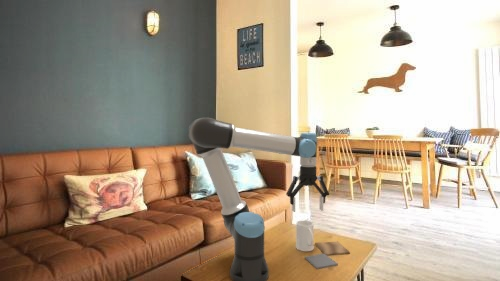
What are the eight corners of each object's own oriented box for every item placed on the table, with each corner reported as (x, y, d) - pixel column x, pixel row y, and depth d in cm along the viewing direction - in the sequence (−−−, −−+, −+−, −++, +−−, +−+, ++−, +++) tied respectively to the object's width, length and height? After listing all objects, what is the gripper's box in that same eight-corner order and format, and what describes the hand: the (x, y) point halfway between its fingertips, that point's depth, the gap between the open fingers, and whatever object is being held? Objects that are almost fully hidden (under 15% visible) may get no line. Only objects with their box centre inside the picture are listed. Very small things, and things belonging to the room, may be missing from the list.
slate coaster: (316, 269, 117) (316, 267, 117) (304, 258, 126) (304, 256, 126) (337, 265, 120) (337, 263, 120) (324, 254, 129) (324, 253, 129)
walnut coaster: (324, 255, 128) (324, 253, 128) (314, 244, 140) (314, 243, 140) (349, 253, 130) (349, 252, 130) (337, 243, 142) (337, 241, 142)
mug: (319, 253, 131) (320, 228, 130) (302, 255, 129) (302, 229, 128) (309, 243, 142) (309, 219, 141) (293, 244, 140) (293, 220, 140)
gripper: (284, 167, 128) (283, 214, 129) (337, 166, 131) (336, 211, 132) (280, 165, 135) (279, 209, 136) (330, 164, 139) (329, 207, 140)
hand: (307, 210), depth 134 cm, fingers open, 13 cm apart
